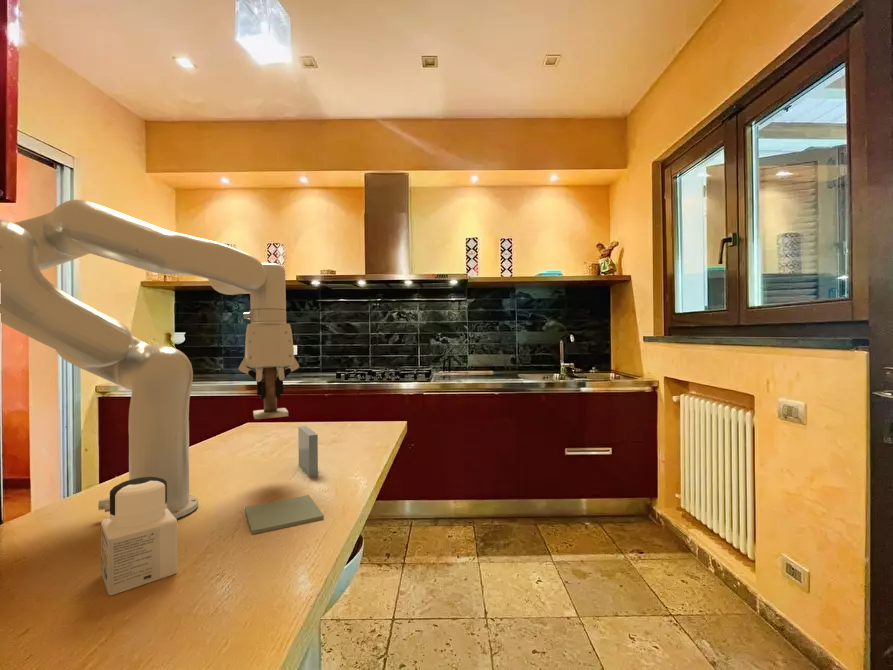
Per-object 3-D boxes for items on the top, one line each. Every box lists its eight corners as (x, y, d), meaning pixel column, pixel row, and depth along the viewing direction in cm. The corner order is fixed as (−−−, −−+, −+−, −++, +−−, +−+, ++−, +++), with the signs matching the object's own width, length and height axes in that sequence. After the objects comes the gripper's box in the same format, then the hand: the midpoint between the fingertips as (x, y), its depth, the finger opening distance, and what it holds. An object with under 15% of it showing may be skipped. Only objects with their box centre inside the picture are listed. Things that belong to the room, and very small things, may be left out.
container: (100, 574, 60) (100, 481, 60) (165, 554, 66) (165, 469, 66) (108, 597, 55) (108, 495, 55) (178, 573, 60) (177, 481, 60)
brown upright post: (254, 419, 95) (253, 364, 94) (253, 414, 100) (252, 363, 100) (288, 416, 98) (287, 363, 98) (285, 411, 103) (284, 361, 103)
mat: (251, 534, 72) (251, 530, 72) (244, 509, 83) (244, 506, 83) (323, 518, 78) (323, 515, 78) (308, 497, 89) (308, 494, 89)
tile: (309, 478, 101) (309, 435, 101) (298, 465, 112) (298, 426, 112) (318, 476, 103) (318, 434, 103) (307, 463, 113) (307, 425, 113)
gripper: (229, 317, 92) (230, 403, 92) (308, 317, 99) (309, 397, 99) (228, 318, 98) (230, 398, 98) (302, 318, 106) (304, 393, 106)
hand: (270, 397), depth 99 cm, fingers closed on brown upright post, 2 cm apart
